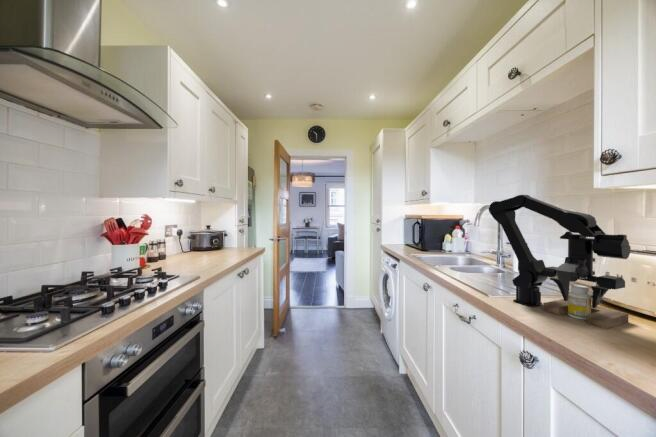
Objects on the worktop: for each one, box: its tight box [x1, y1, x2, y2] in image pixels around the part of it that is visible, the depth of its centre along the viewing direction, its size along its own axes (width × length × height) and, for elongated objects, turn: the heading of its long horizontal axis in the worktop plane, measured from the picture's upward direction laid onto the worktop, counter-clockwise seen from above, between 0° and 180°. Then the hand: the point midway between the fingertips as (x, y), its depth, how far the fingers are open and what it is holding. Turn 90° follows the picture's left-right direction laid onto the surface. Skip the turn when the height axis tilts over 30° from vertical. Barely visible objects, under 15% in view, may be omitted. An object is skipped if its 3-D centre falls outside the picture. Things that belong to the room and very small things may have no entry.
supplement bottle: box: [567, 284, 592, 321], centre depth 87 cm, size 5×5×10 cm
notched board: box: [542, 298, 629, 330], centre depth 87 cm, size 16×12×2 cm
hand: (579, 304), depth 87 cm, fingers open, 7 cm apart
